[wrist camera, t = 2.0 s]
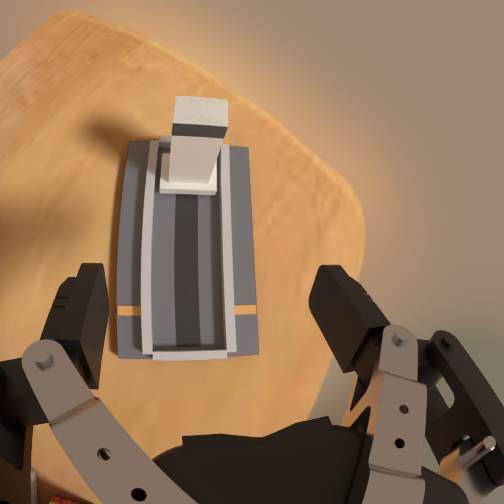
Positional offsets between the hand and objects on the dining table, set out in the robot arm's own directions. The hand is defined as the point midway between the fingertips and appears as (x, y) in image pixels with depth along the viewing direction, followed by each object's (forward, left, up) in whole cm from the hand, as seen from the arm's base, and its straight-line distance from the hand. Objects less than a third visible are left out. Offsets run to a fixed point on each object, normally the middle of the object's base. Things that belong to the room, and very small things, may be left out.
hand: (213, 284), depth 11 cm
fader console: (-2, +5, -16) cm, 17 cm away
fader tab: (-5, +11, -14) cm, 18 cm away
